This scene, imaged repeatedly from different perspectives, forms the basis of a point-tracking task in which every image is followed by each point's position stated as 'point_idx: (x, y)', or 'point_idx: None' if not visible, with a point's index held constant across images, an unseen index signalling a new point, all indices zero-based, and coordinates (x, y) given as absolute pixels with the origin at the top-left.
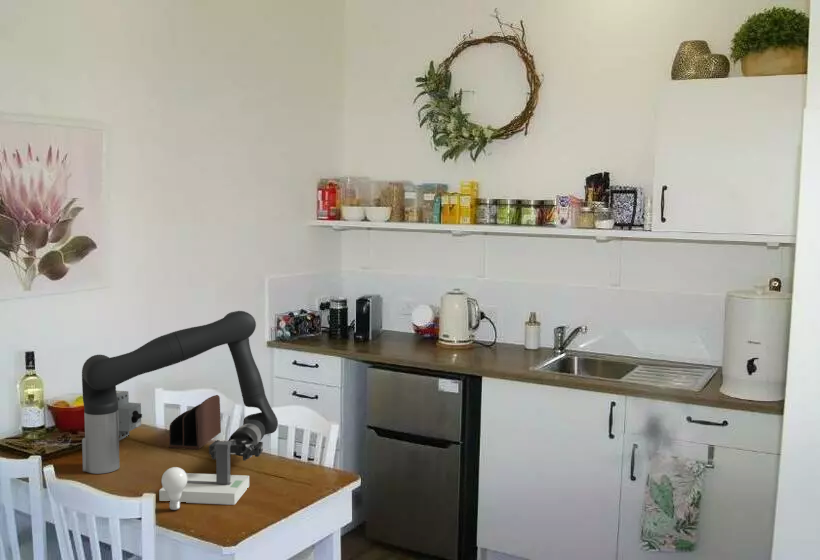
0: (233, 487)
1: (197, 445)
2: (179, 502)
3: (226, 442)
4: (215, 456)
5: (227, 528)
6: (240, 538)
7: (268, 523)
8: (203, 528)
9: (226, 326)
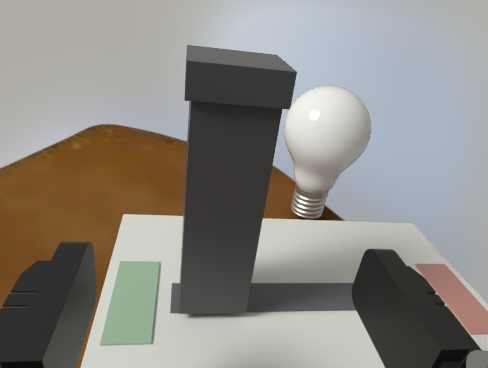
0: (141, 261)
1: None
2: (295, 195)
3: (215, 57)
4: (364, 298)
5: (119, 156)
6: (83, 133)
7: (3, 169)
8: (177, 156)
9: None
